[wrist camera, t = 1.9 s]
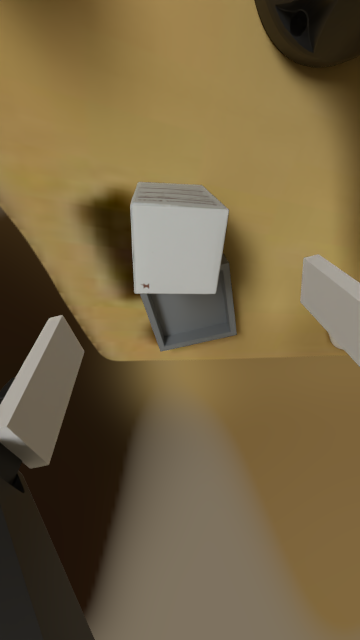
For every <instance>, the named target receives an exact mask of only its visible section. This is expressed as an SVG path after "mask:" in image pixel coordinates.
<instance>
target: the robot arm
mask: <svg viewBox="0 0 360 640" xmlns="http://www.w3.org/2000/svg"><path fill="white" fill-rule="evenodd" d="M255 2H256V6H257V10H258V13H259V16H260V18H261V21H262V23H263V26H264V28H265V30H266V32H267V33H268V35H269V37H270V38H271V40H272V41H273V43H274V44H275V45H276V47H277V48H278V49H279V50H280V51H281V52H282V53H283V54H284V55H286V56H287V57H288V58H290V59H291V60H293V61H294V62H297V63H299V64H301V65H304V66H309V67H329V66H333V65H337V64H340V63H343V62H345V61H348V60H350V59H353V58H355V57H357V56H360V0H255ZM300 302H301V303H302V304H303V305H304V306H305V308H306V309H307V310H308V311H309V312H310V313H311V314H312V315H313V316H314V317H315V318H316V320H317V321H318V322H319V323H320V324H321V325H322V326H323V327H324V328H325V329H326V331H327V332H328V333H329V334H330V335H331V336H332V337H333V338H334V339H335V340H336V341H337V343H338V344H339V345H340V346H341V347H342V348H343V349H344V350H345V351H346V352H347V353H348V355H349V356H350V357H351V358H352V359H353V360H354V361H355V362H356V363H357V364H358V366H359V367H360V283H359V282H358V281H356V280H355V279H353V278H352V277H350V276H349V275H348V274H346V273H345V272H343V271H342V270H340V269H339V268H337V267H336V266H335V265H333V264H332V263H330V262H329V261H327V260H326V259H324V258H323V257H322V256H320V255H319V254H318V255H314V256H310V257H305V258H304V260H303V274H302V287H301V301H300ZM83 354H84V350H83V348H82V347H81V345H80V343H79V342H78V340H77V338H76V337H75V335H74V333H73V332H72V330H71V328H70V327H69V325H68V323H67V322H66V320H65V318H64V316H63V315H61V316H57V317H52V318H49V320H48V321H47V323H46V325H45V327H44V328H43V330H42V332H41V334H40V336H39V337H38V339H37V341H36V342H35V344H34V346H33V348H32V349H31V351H30V353H29V355H28V357H27V358H26V360H25V362H24V364H23V366H22V367H21V369H20V371H19V372H18V374H17V376H16V378H12V379H11V380H10V381H9V382H8V383H7V384H6V385H5V386H4V387H3V388H2V390H1V391H0V640H95V639H94V637H93V635H92V633H91V631H90V628H89V626H88V624H87V621H86V619H85V617H84V614H83V612H82V610H81V607H80V605H79V603H78V600H77V598H76V596H75V594H74V591H73V589H72V587H71V584H70V582H69V580H68V578H67V575H66V573H65V571H64V568H63V566H62V564H61V562H60V560H59V557H58V555H57V552H56V550H55V548H54V545H53V543H52V541H51V539H50V536H49V534H48V532H47V529H46V527H45V525H44V523H43V520H42V518H41V516H40V513H39V511H38V509H37V507H36V504H35V502H34V500H33V497H32V495H31V493H30V491H29V488H28V486H27V484H26V482H25V479H24V477H23V475H22V474H21V473H20V472H19V471H18V470H19V468H20V465H21V463H22V462H23V463H24V464H26V465H27V466H28V467H29V468H35V467H40V466H45V465H48V464H49V462H50V459H51V456H52V453H53V450H54V446H55V443H56V440H57V437H58V434H59V430H60V427H61V424H62V421H63V418H64V415H65V411H66V408H67V405H68V402H69V399H70V395H71V392H72V389H73V386H74V382H75V379H76V376H77V373H78V370H79V367H80V363H81V360H82V357H83Z"/></svg>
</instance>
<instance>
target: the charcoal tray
mask: <svg viewBox="0 0 360 640" xmlns="http://www.w3.org/2000/svg"><path fill="white" fill-rule="evenodd" d="M140 295H141V298H142V301H143V303H144V306H145V309H146V312H147V315H148V317H149V320H150V323H151V326H152V329H153V331H154V334H155V337H156V340H157V343H158V346H159V348H160V351H165V350H170V349H175V348H179V347H184V346H188V345H193V344H197V343H202V342H206V341H211V340H215V339H220V338H224V337H229V336H233V335H237V333H236V323H235V314H234V305H233V296H232V287H231V277H230V268H229V262H228V261H227V259H226V257H225V256H224V254H222V260H221V266H220V272H219V279H218V285H217V290H216V293H215V294H140Z"/></svg>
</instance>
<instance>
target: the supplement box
mask: <svg viewBox="0 0 360 640" xmlns="http://www.w3.org/2000/svg"><path fill="white" fill-rule="evenodd" d="M130 210H131V230H132V256H133V271H134V292H135V294H215V293H216V290H217V285H218V279H219V272H220V266H221V260H222V253H223V247H224V241H225V234H226V228H227V221H228V214H229V209H228V208H226V207H225V206H224V205H223V204H222V203H221V202H220V201H219V200H218V199H217V198H215V197H214V196H213V195H212V194H211V193H210V192H209V191H208V190H207V189H206V188H204V187H203V186H202V185H188V184H169V183H151V182H138V184H137V187H136V190H135V193H134V195H133V198H132V201H131V206H130Z"/></svg>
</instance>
